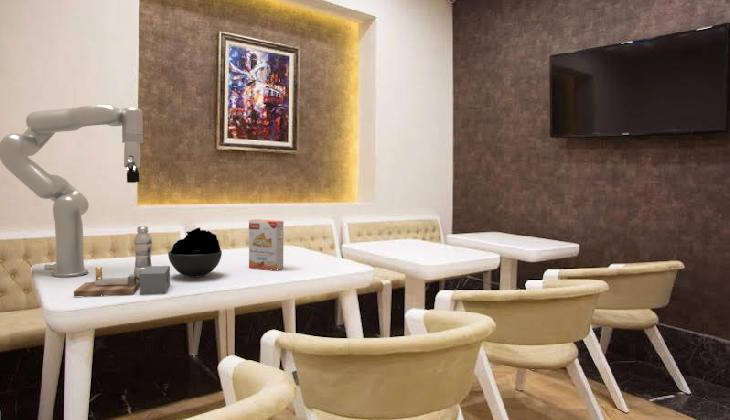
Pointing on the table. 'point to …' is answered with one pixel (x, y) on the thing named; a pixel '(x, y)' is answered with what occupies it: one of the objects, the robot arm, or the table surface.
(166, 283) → the block
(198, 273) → the bowl of black rocks
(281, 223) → the cracker box
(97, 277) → the bolt
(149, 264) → the plastic bottle
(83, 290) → the brown wooden flat slab
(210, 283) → the table surface
